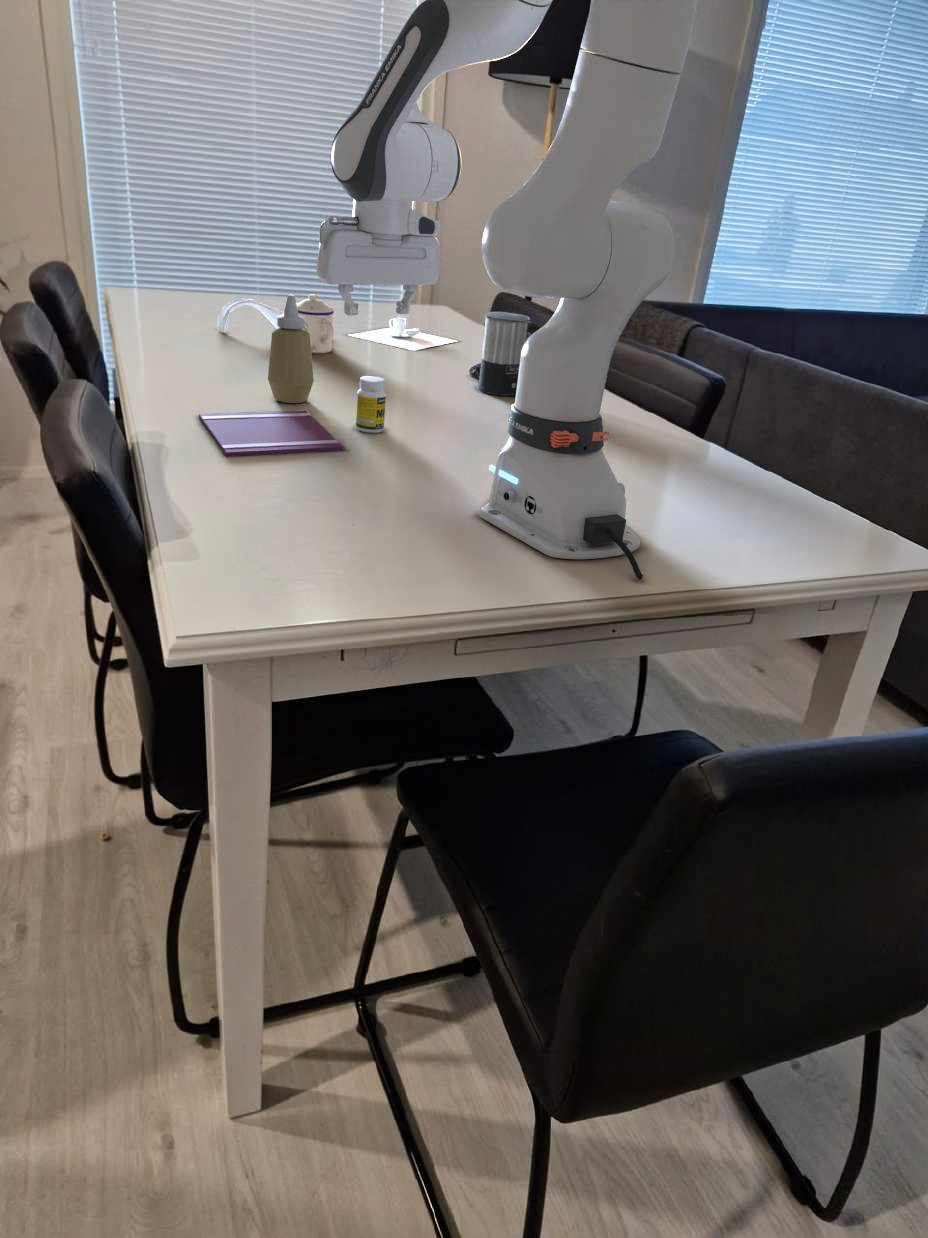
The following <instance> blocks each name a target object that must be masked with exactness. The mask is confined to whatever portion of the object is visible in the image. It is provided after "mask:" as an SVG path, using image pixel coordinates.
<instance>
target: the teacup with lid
mask: <svg viewBox="0 0 928 1238" xmlns="http://www.w3.org/2000/svg"><path fill="white" fill-rule="evenodd" d="M296 305H297V310H298V315H299V316H301V317H304V318H305V327H304V328H303V329H305V330H306V331H308V332H309V333H310V342H311V354H327V353H330V352H331V351H332V349H333V337H334V326H333V322H334V321H333V319H334V317H333V315H334V313H335V311H334V307H332V306H330V305H328V304H326V303H324V301H322V300H321V299H319V296H318V295H317V294H314V293H310V294H308V297H307V298H306V299H303V300H302V301H300V302H296Z"/></svg>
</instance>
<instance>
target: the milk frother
mask: <svg viewBox="0 0 928 1238" xmlns="http://www.w3.org/2000/svg"><path fill="white" fill-rule="evenodd" d="M484 317H485V319H484V322H485V323H484V330H483V341H482V351H481V362H480V363H478V364H477V363H476V364H474V365H473V366H471V367H470V368H469V370H468V375H469V376H470V377H471V378H472V379H475V380H478V384H477V386H476V388H477V390H479V391H480V392H483V393H486V394H489V395H495V396H502V397H503V396H504V397H507V396H508V397H509V396H516V391H517V383H518V374H519V366H520V358H521V352H522V348H523V346H524V344H525V342H526V341H527V336H528V338H529V337H530V336H531V335H532V334H533V333H535V332H536V331H537V330H539V329H540V328H541V326H539V325H538V324H537V323H535V322H532V321H530V320H531V317H529V316H528V315H525V314H522V313H516V312H508V311H489V312H484ZM527 334H528V335H527Z"/></svg>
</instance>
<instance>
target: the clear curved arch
mask: <svg viewBox="0 0 928 1238" xmlns="http://www.w3.org/2000/svg"><path fill="white" fill-rule="evenodd" d="M243 306H249V307H252V308H255V309H256V310H258V311H259V312H260V313H261V314H262V315H263V316H264V317H265V318H266V319H267V320H268V322H270V324H272V325H273V326H274V327H275V328H278V327H279V326H277V317H278V316H279V315H284V310H285V309H281V308H276V307H272V306H270V305H267V304H265V303H263V302H260V301H257V300H255V299H252V298H237V299H234V300H231V301H229V302H228V303H227V304H225V305H224V306H223V308H222V309H221V311H220V312H219V314H218V318H217V324H216V326H217V329H218V330H220V331H222V332H228V321H229V317H230V315H231V313H232V312H233V311H234V310H236V309H237V308H240V307H243Z"/></svg>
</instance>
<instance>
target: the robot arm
mask: <svg viewBox="0 0 928 1238" xmlns="http://www.w3.org/2000/svg"><path fill="white" fill-rule="evenodd" d="M552 2H553V0H424V1H422V2H421V3H420V4H419V5H418V6H417V7H416V8H415V9H414V10H413V11H412V13H411V15H410V16H409V18H408V19H407V20H406V22H405V24H404V25H403V27H402V28H401V30H400V31H399V33H398V35H397V37H396V39H394V41H393V44H392V45H391V47H390V49H389V51H388V53H387V54H386V56H385V58H384V59H383V61H382V63H381V64H380V66H379V68H378V70H377V72H376V73H375V75H374V76H373V79H372V81H371V82H370V84H369V86H368V88H367V89H366V91H365V92H364V95H363V96H362V98H361V100H360V101H359V103H358V104H357V105H356V107H355V108H354V109H353V110H352V112H351V113H350V114H349V115H348V116H347V118H346V119H345V120H344V121H343V122H342V124H341V125H340V126H339V128H338V130H337V131H336V134H335V135H334V138H333V140H332V143H331V149H330V165H331V170H332V173H333V176H334V177H335V179H336V181H337V182H338V184H339V186H340V188H342V190H343V191H344V192H345V193H346V194H347V195H348V196H349V197H350V198H351V199H352V200H353V202H352V203H353V207H352V216H338V215H331V216H328V218H327V219H325V220H324V221H322V223H321V224H320V226H319V231H318V232H319V235H318V239H319V247H318V253H317V259H316V276H317V277H318V279H319V280H320V282H323V283H324V284H328V285H331V286H333V285H335V286H336V285H337V291H338V293H339V295H340V297H341V299H342V301H343V302H344V305H343V312H344V314H345V315H346V316H358V314H359V303H357V302H355V301H353V300H354V299H353V297H352V296H351V293H353V292H354V286H358V285H359V286H360V285H361V286H368V285H369V286H381V285H382V286H402V290H404V293H403V296H402V297H401V299H400V300H396V303H395V306H396V308H395V312H396V313H397V314H398V315H409V314H410V309H411V303H412V302H413V300H414V298H415V297H416V295H417V294H418V286H433V285H435V284H436V282H437V281H438V279H439V277H440V270H441V246H440V245H441V244H440V241H439V240H438V238H437V236H438V235H439V234H440V231H441V223H440V221H438V220H436V219H434V218H432V217H431V216H429V215H426V214H424V213H422V212H420V211H418V210H417V209H414V202H422V203H435V202H440V201H441V202H442V201H444V200H447V198H449V197H450V196H451V195H452V194H453V192H455V189H456V187H457V186H458V183H459V180H460V177H461V171H462V155H461V149H460V145H459V144H458V141H457V139H456V138H455V136H454V134H452V132H451V131H449V129H445V128H442V127H441V126H439V125H438V124H437V123H435V122H433V121H432V120H430V119H429V118H428V117H426V116H425V115H424V114H423V113H422V112H421V110H420V108H419V106H418V100H419V99H420V97H421V96H422V94H423V93H424V91H425V89H426V88H427V87H428V86H429V85H430V84H431V83H433V81H435V80H436V79H438V78H439V77H441V76H442V75H444V74H446V73H449V72H452V71H454V70H457V69H460V68H463V67H466V66H470V65H476V64H480V63H486V62H492V61H499V60H501V59H505V58H508V57H509V56H511V55H513V54H516V53H517V52H519V51H520V50H521V49H522V48H523V47H524V46H525V45H526V44H527V43H528V41H529V40H530V39H531V38H532V37H533V36H534V35H535V33H536V32H537V30H538V29H539V27H540V25H541V24H542V22H543V20H544V18H545V16H546V14H547V12H548V10H549V8H550V7H551V5H552ZM697 6H698V0H590V5H589V11H588V15H587V20H586V24H585V28H584V32H583V35H582V40H581V43H580V48H579V52H578V57H577V60H576V65H575V69H574V73H573V77H572V81H571V84H570V89H569V92H568V96H567V100H566V103H565V107H564V110H563V114H562V117H561V120H560V123H559V126H558V129H557V131H556V134H555V136H554V139H553V140H552V143H551V145H550V147H549V149H548V150H547V151H546V154H545V155H544V157H543V159H542V160H541V162H540V163H539V165H538V166H537V168H536V169H535V171H534V172H533V173H532V174H531V176H530V177H529V178H528V180H526V182H525V183H524V184H523V185H522V186H521V187H520V188H519V189H518V190H517V191H515V193H513V194H512V195H510V196H509V197H508V198H506V199H505V200H503V201H502V202H500V203H499V204H498V205H497V206H495V208H494V209H493V211H492V213H491V214H490V216H489V217H488V220H487V221H486V223H485V226H484V230H483V232H482V233H483V234H482V237H481V256H482V263H483V265H484V268H485V271H486V273H487V275H488V277H489V279H490V280H491V282H492V283H493V284H494V285H495V286H496V287H497V288H499V289H501V290H504V291H507V292H510V293H513V294H518V295H520V296H524V297H529V298H533V299H560V301H559V303H558V305H557V308H556V309H555V311H554V313H553V314H552V316H551V317H550V319H549V320H548V321H547V322H546V323H545V324H544V325H543V326H541V327H540V329H539V330H537V331H536V332H535V333H533V334H532V335H531V336H530V337H529V336H528V337H527V338H526V342H525V344H524V346H523V348H522V352H521V358H520V366H519V374H518V383H517V391H516V395H515V400H514V403H512V404H511V407H510V412H509V414H508V420H507V421H508V425H507V433H508V434H509V438H508V439H507V442H506V443H505V445H504V447H503V448H502V450H501V451H500V452H499V454H498V456H497V459H496V463H495V465H493V464H489V467H488V470H489V471H491V472H492V473H493V478H492V483H491V487H490V493H489V496H488V497H489V498H488V501H487V502H488V503H487V504H485V505H483V506H481V508H480V511H479V517H480V518H481V519H483V520H484V521H486V522H488V523H489V524H492V525H493V526H495V527H497V528H499V529H501V530H502V531H503V532H505V533H507V534H509V535H511V536H512V537H514V538H515V539H517V540H520V542H523V543H525V544H526V545H528V546H530V547H532V548H533V549H535V550H537V551H539V552H540V553H541V554H543V555H545V556H548V557H550V558H556V559H563V560H595V559H604V558H612V557H617V556H623V555H625V556H626V558H627V560H628V562H629V564H630V566H631V568H632V570H633V572H634V575H635V578H637V580H643V578H644V574H643V573H642V571H641V569H640V567H639V564H638V562H637V559H636V558H635V556H634V555H633V552H635V551H636V550H638V549H639V548H640V546H641V545H640V544H641V539H640V538H639V537H638V535H636V534H635V533H634V532H633V531H632V530H631V528H629V527H628V526H627V525H626V524H627V519H626V514H627V499H626V487H625V485H624V484H623V483H622V482H618V480H617V477H616V476H615V474H614V472H613V470H612V467H611V466H610V463H609V461H608V460H607V458H606V456H605V454H604V451H603V447H604V445H605V444H604V442H605V441H609V438H607V437H606V438H605V437H604V436H608V435H610V431H604V426H603V417H602V415H601V409H602V403H603V398H604V394H605V393H604V392H605V387H606V383H607V377H608V373H609V368H610V364H611V361H612V357H613V355H614V351H615V348H616V346H617V344H618V341H619V339H620V337H621V335H622V334H623V331H624V329H625V328H626V326H627V324H628V322H629V320H630V319H631V318H632V316H633V314H634V313H635V311H636V310H637V308H638V307H639V306H640V304H641V303H643V301H644V300H645V299H646V298H648V296H649V295H650V294H651V293H653V292H654V291H655V290H657V289H658V288H659V287H660V286H661V285H662V284H663V283H664V282H665V280H666V278H668V275H669V273H670V271H671V269H672V267H673V264H674V259H675V252H676V242H675V236H674V231H673V228H672V226H671V224H670V222H669V221H668V219H667V218H666V217H665V216H664V215H662V214H661V213H659V212H657V211H654V210H652V209H650V208H648V207H645V206H642V205H640V204H637V203H634V202H629V201H619V200H611V199H612V198H613V196H614V194H615V193H616V191H617V189H618V188H619V187H620V186H621V185H622V183H623V182H624V181H625V179H627V178H628V177H629V175H631V174H632V173H633V172H635V171H636V170H638V169H639V168H641V167H643V166H645V165H646V164H647V163H649V162H650V161H651V160H652V159H653V158H654V157H655V155H656V153H657V152H658V151H659V148H660V147H661V143H662V141H663V137H664V133H665V130H666V126H667V124H668V119H669V116H670V114H671V109H672V108H673V107H672V106H673V102H674V99H675V96H676V93H677V89H678V86H679V83H680V80H681V76H682V73H683V69H684V65H685V62H686V58H687V56H688V50H689V47H690V41H691V38H692V33H693V28H694V24H695V23H694V22H695V18H696V13H697Z"/></svg>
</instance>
